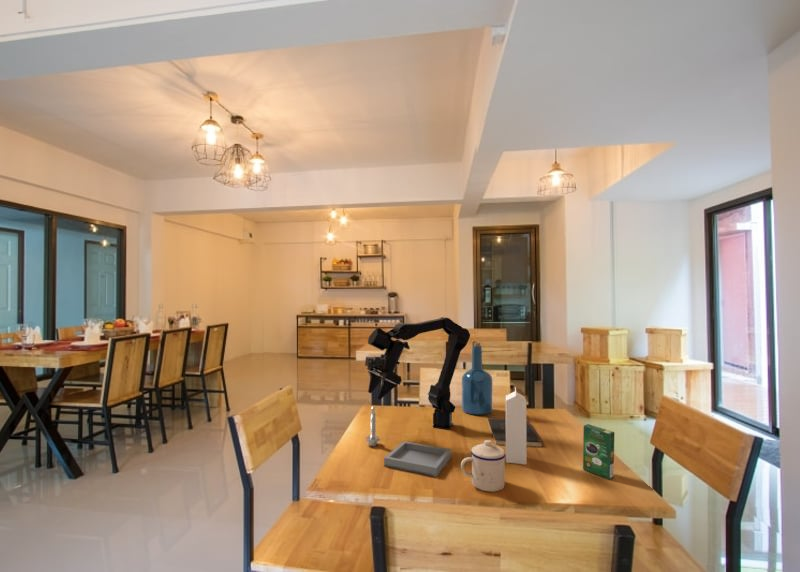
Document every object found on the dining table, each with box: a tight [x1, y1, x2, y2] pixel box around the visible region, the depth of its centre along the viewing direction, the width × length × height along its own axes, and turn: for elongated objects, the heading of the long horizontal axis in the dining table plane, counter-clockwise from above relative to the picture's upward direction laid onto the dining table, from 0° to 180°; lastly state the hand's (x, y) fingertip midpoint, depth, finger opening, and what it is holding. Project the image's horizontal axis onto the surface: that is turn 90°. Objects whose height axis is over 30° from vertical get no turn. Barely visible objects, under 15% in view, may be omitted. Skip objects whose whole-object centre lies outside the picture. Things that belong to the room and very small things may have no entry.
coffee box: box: [582, 423, 615, 481], centre depth 112 cm, size 8×3×13 cm, turn 35°
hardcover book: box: [487, 417, 544, 448], centre depth 144 cm, size 16×23×2 cm
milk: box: [505, 386, 527, 466], centre depth 122 cm, size 6×6×22 cm
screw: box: [365, 406, 381, 447], centre depth 133 cm, size 13×5×5 cm
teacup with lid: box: [460, 439, 506, 493], centre depth 106 cm, size 12×9×12 cm
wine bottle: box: [461, 342, 494, 416], centre depth 171 cm, size 14×13×30 cm
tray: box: [383, 440, 452, 478], centre depth 120 cm, size 16×14×2 cm
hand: (373, 395), depth 140 cm, fingers open, 9 cm apart
